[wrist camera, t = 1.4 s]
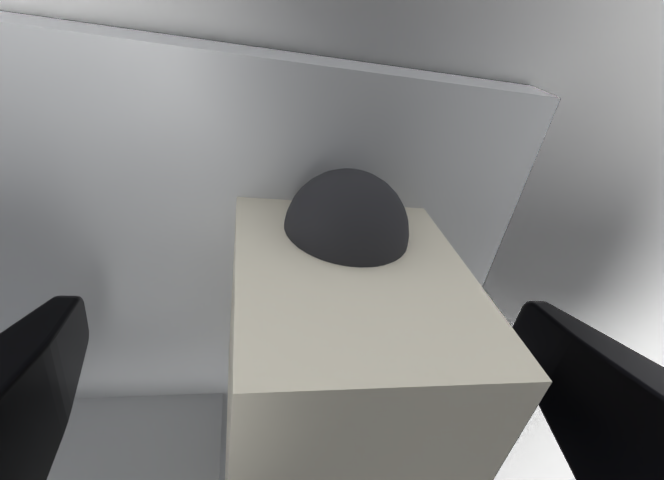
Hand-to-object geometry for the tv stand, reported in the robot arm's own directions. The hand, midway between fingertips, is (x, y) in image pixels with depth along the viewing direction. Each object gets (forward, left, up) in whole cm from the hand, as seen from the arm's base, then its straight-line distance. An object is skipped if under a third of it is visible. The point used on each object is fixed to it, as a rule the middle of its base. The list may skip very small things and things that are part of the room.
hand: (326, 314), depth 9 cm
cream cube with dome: (-2, 0, -1) cm, 2 cm away
